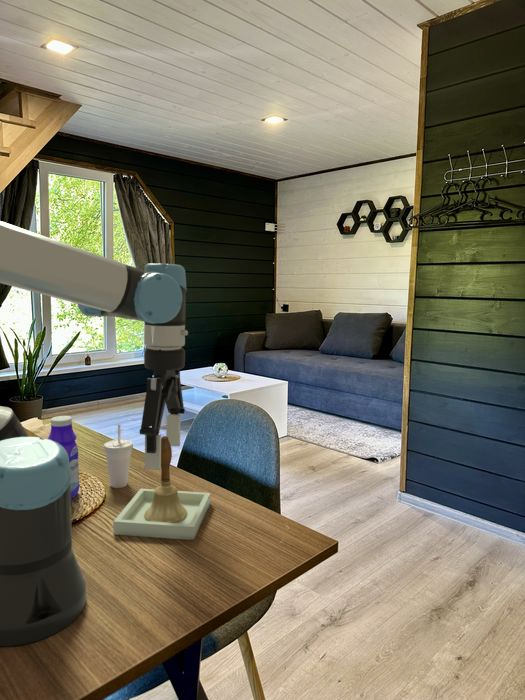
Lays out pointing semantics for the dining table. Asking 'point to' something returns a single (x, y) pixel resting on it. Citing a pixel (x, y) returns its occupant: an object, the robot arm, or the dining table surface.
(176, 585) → the dining table surface
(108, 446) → the smoothie
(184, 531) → the tray
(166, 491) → the hand bell
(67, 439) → the bottle
